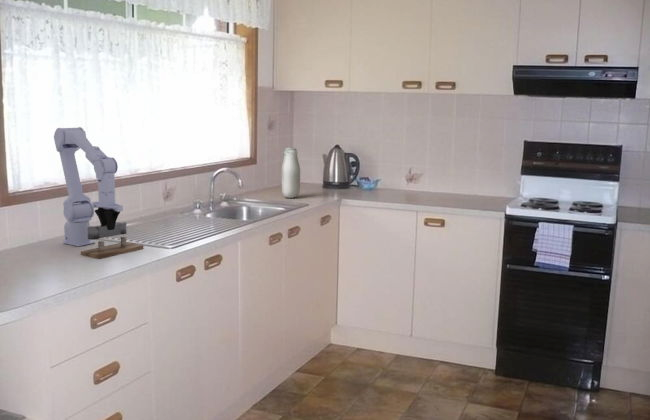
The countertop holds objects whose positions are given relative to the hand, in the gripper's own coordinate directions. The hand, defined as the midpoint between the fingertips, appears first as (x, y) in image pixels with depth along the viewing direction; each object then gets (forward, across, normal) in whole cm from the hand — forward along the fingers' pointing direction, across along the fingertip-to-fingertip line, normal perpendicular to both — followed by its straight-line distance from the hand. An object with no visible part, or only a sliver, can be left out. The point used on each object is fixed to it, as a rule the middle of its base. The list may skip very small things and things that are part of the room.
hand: (108, 229), depth 250 cm
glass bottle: (+9, -28, +144) cm, 147 cm away
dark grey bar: (+2, 0, 0) cm, 2 cm away
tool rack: (+8, +1, +1) cm, 9 cm away
